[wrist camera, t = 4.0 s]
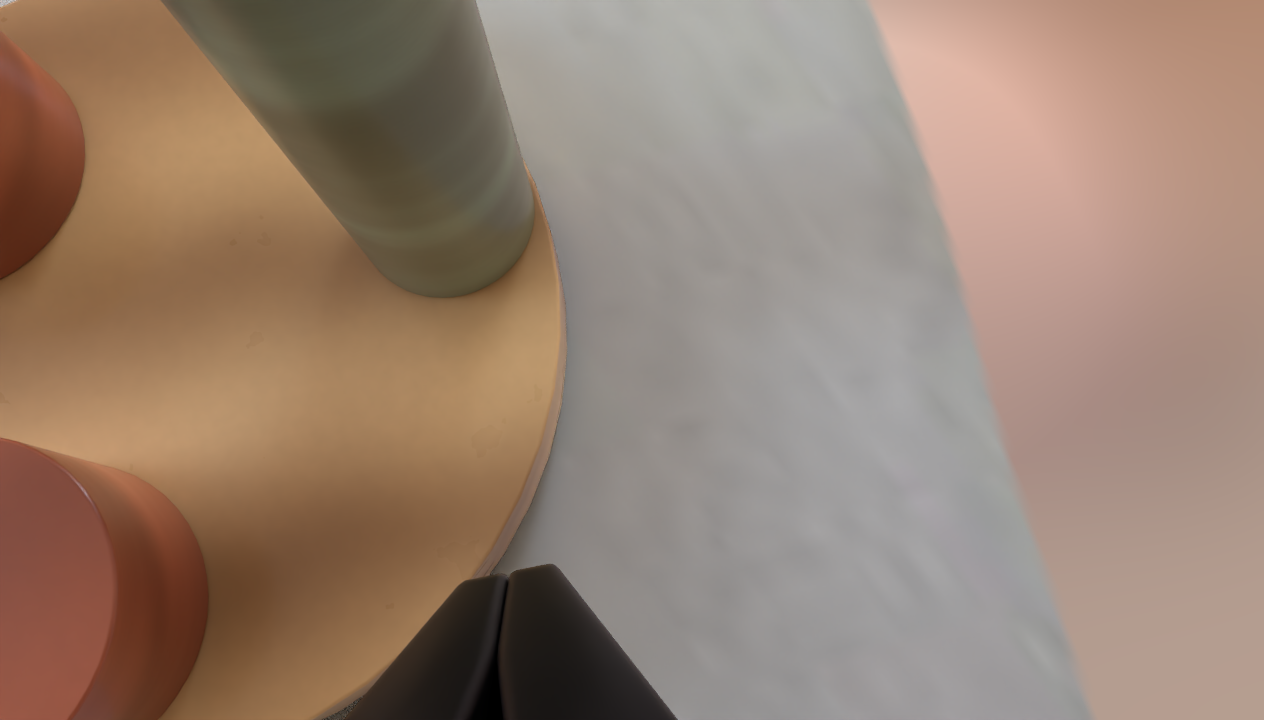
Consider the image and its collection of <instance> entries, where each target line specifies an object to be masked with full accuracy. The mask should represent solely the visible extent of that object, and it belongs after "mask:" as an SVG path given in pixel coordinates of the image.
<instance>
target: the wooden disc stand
mask: <svg viewBox="0 0 1264 720" xmlns="http://www.w3.org/2000/svg"><path fill="white" fill-rule="evenodd" d="M566 359H567V334H566V303H565V298H564V292H563V286H562V280H561V274H560V268H559V262H558V256H557V253H556V249H555V246H554V242H553V238H552V235H551V231H550V228H549V225H548V222H547V219H546V216H545V212H544V209H543V206H542V203H541V200H540V197H539V194H538V190H537V187H536V184H535V182H534V180H533V178H532V176H531V174H530V172H529V170H528V168H527V166H526V163H525V161H524V159H523V157H522V155H521V152H520V149H519V145H518V142H517V139H516V135H515V132H514V128H513V125H512V122H511V118H510V115H509V112H508V108H507V105H506V101H505V98H504V95H503V91H502V88H501V85H500V81H499V78H498V74H497V71H496V68H495V64H494V61H493V58H492V54H491V51H490V47H489V44H488V41H487V37H486V34H485V31H484V27H483V24H482V20H481V17H480V14H479V10H478V7H477V4H476V0H17V1H14V2H12V3H9V4H7V5H4V6H2V7H0V720H322V719H324V718H326V717H329V716H331V715H333V714H335V713H337V712H339V711H341V710H342V709H344V708H345V707H347V706H348V705H350V704H351V703H353V702H354V701H356V700H358V699H359V698H361V697H362V696H364V695H365V694H366V693H367V692H368V690H369V689H370V688H371V687H372V686H373V685H374V683H375V682H376V681H377V680H378V679H379V678H380V676H381V675H382V674H383V673H384V672H385V671H386V669H387V668H388V667H389V666H390V665H391V663H392V662H393V661H394V660H395V659H396V658H397V656H398V655H399V654H400V653H401V652H402V651H403V649H404V648H405V647H406V646H407V645H408V644H409V642H410V641H411V640H412V639H413V638H414V636H415V635H416V634H417V633H418V632H419V631H420V629H421V628H422V627H423V626H424V625H425V624H426V622H427V621H428V620H429V619H430V618H431V617H432V615H433V614H434V613H435V612H436V611H437V609H438V608H439V607H440V606H441V605H442V604H443V602H444V601H445V600H446V599H447V598H448V597H449V595H450V594H451V593H452V592H453V591H454V590H455V588H456V587H457V586H458V585H459V584H461V583H462V582H463V581H465V580H469V579H474V578H479V577H485V576H489V575H490V573H491V572H492V570H493V569H494V568H495V566H496V565H497V563H498V562H499V561H500V559H501V558H502V556H503V555H504V553H505V551H506V550H507V548H508V546H509V544H510V542H511V540H512V538H513V537H514V535H515V533H516V531H517V529H518V527H519V525H520V524H521V522H522V520H523V518H524V516H525V514H526V512H527V511H528V509H529V507H530V505H531V502H532V500H533V497H534V494H535V492H536V489H537V487H538V484H539V481H540V479H541V476H542V473H543V471H544V468H545V466H546V463H547V460H548V458H549V455H550V451H551V447H552V443H553V439H554V434H555V430H556V426H557V422H558V418H559V414H560V409H561V405H562V397H563V388H564V378H565V368H566Z"/></svg>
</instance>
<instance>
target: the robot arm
mask: <svg viewBox="0 0 1264 720" xmlns="http://www.w3.org/2000/svg"><path fill="white" fill-rule="evenodd" d="M344 720H678V719H677V718H676V717H675V716H674V714H673V713H672V712H671V711H670V709H669V708H668V707H667V705H666V704H665V703H664V702H663V700H662V699H661V698H660V697H659V695H658V694H657V693H656V691H655V690H654V689H653V688H652V686H651V685H650V684H649V683H648V681H647V680H646V679H645V677H644V676H643V675H642V674H641V672H640V671H639V670H638V669H637V667H636V666H635V665H634V663H633V662H632V661H631V660H630V658H629V657H628V656H627V655H626V653H625V652H624V651H623V650H622V648H621V647H620V646H619V644H618V643H617V642H616V641H615V639H614V638H613V637H612V636H611V634H610V633H609V632H608V630H607V629H606V628H605V627H604V625H603V624H602V623H601V622H600V620H599V619H598V618H597V616H596V615H595V614H594V613H593V611H592V610H591V609H590V608H589V606H588V605H587V604H586V602H585V601H584V600H583V599H582V597H581V596H580V595H579V594H578V592H577V591H576V590H575V589H574V587H573V586H572V585H571V583H570V582H569V581H568V580H567V578H566V577H565V576H564V575H563V573H562V572H561V571H560V569H559V568H558V567H556V566H555V565H553V564H546V565H541V566H535V567H530V568H525V569H520V570H516V571H514V572H513V573H512V574H511V575H510V577H509V578H508V577H507V576H506V575H504V574H495V575H490V576H485V577H479V578H474V579H469V580H465V581H463V582H462V583H461V584H459V585H458V586H457V587H456V588H455V590H454V591H453V592H452V593H451V594H450V595H449V597H448V598H447V599H446V600H445V601H444V602H443V604H442V605H441V606H440V607H439V608H438V609H437V611H436V612H435V613H434V614H433V615H432V617H431V618H430V619H429V620H428V621H427V622H426V624H425V625H424V626H423V627H422V628H421V629H420V631H419V632H418V633H417V634H416V635H415V636H414V638H413V639H412V640H411V641H410V642H409V644H408V645H407V646H406V647H405V648H404V649H403V651H402V652H401V653H400V654H399V655H398V656H397V658H396V659H395V660H394V661H393V662H392V663H391V665H390V666H389V667H388V668H387V669H386V671H385V672H384V673H383V674H382V675H381V676H380V678H379V679H378V680H377V681H376V682H375V683H374V685H373V686H372V687H371V688H370V689H369V690H368V692H367V693H366V694H365V695H364V696H363V698H362V699H361V700H360V701H359V702H358V703H357V705H356V706H355V707H354V708H353V709H352V710H351V712H350V713H349V714H348V715H347V716H346V718H345V719H344Z"/></svg>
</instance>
